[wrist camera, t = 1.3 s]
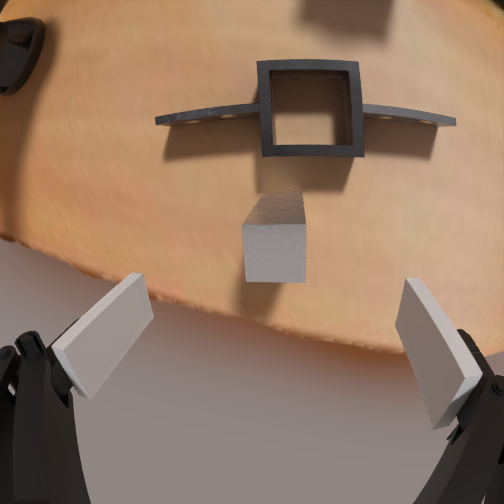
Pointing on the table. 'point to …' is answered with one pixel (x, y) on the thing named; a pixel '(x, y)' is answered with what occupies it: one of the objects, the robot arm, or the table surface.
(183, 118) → the grey socket bracket
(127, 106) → the table surface
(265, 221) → the grey long rectangular block
